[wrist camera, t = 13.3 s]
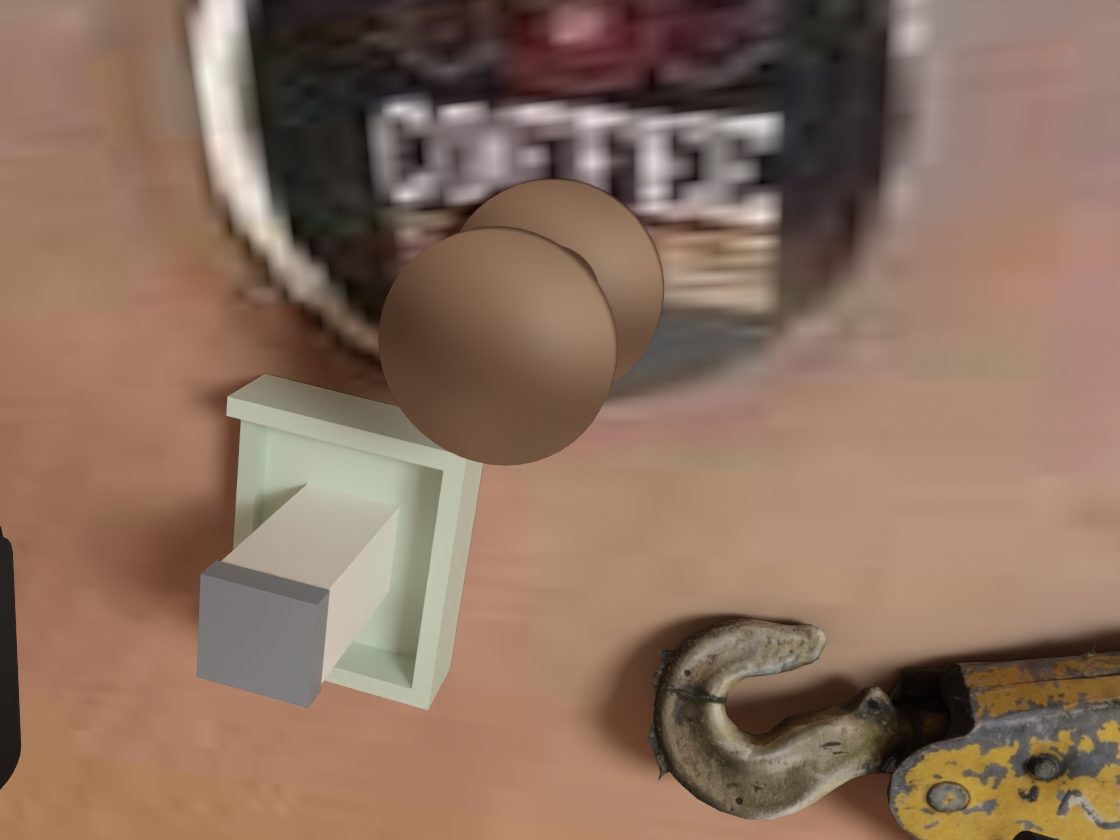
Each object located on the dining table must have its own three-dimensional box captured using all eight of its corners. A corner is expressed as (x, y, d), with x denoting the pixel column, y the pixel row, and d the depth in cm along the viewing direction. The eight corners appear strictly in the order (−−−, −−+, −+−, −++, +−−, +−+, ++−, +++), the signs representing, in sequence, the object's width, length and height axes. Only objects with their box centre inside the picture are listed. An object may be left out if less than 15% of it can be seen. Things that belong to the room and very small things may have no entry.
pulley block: (671, 591, 33) (1678, 821, 29) (689, 497, 38) (1552, 683, 34) (613, 860, 40) (1418, 1076, 36) (635, 751, 45) (1345, 930, 41)
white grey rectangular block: (305, 480, 41) (200, 573, 33) (402, 504, 40) (317, 605, 33) (298, 568, 42) (197, 676, 35) (391, 593, 42) (307, 708, 34)
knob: (469, 157, 36) (377, 186, 28) (685, 203, 35) (657, 246, 27) (440, 364, 39) (350, 445, 31) (639, 411, 38) (601, 509, 30)
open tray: (264, 373, 41) (227, 396, 38) (488, 429, 40) (466, 456, 37) (248, 612, 45) (213, 648, 42) (449, 669, 44) (427, 709, 41)
